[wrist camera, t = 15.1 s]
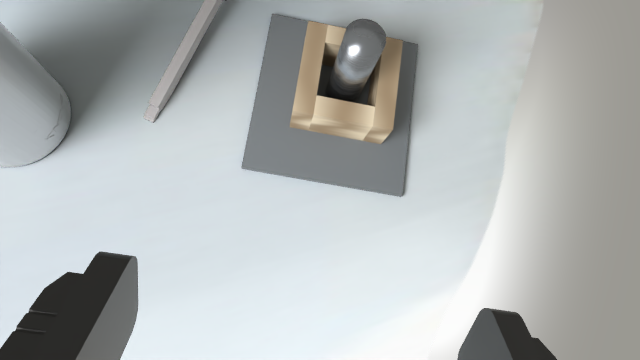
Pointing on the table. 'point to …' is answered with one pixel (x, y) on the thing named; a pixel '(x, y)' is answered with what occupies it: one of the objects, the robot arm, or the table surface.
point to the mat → (317, 148)
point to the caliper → (181, 58)
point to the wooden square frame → (339, 114)
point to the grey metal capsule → (355, 60)
